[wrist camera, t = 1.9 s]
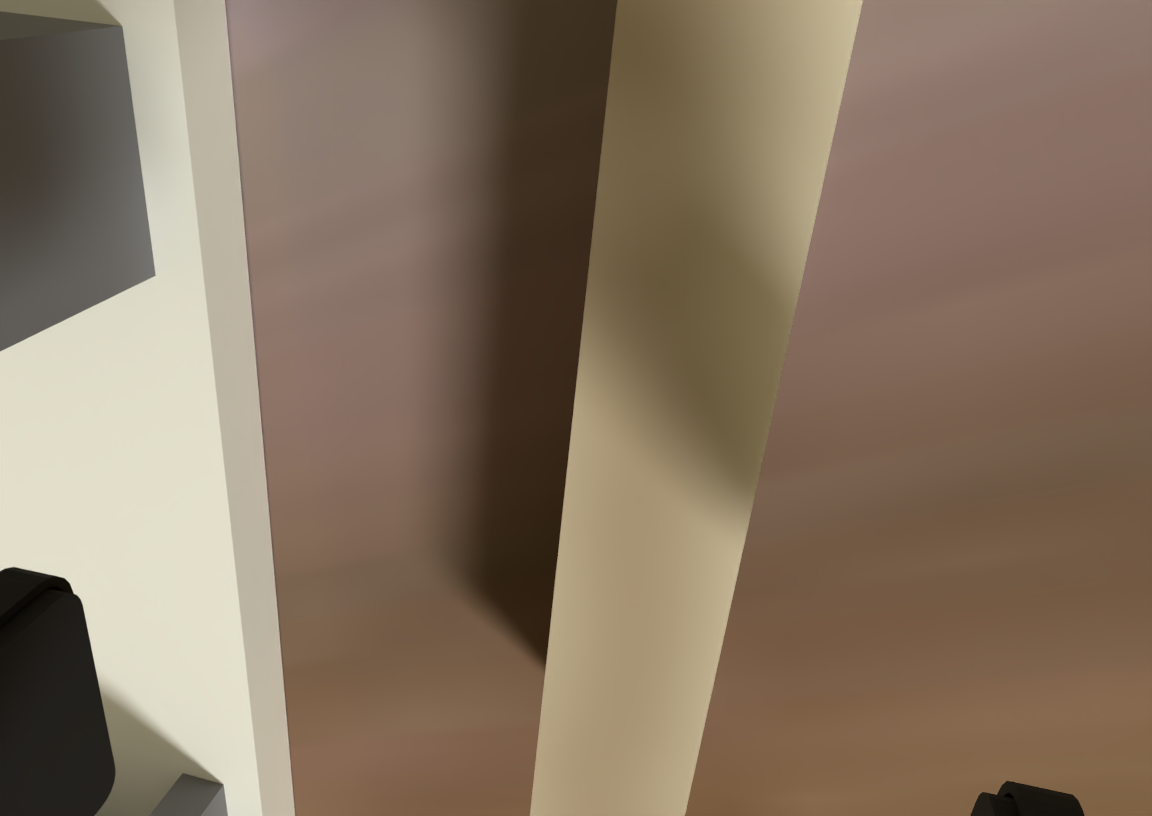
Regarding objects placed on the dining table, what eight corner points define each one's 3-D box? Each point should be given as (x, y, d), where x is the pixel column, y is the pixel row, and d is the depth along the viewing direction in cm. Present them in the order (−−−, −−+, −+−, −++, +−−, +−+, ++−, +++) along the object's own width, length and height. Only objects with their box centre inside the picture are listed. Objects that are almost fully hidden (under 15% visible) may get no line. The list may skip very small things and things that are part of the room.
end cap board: (219, -66, 17) (-102, -71, 11) (301, 893, 29) (168, 1129, 23) (-200, -107, 18) (-669, -129, 13) (44, 816, 30) (-140, 1018, 24)
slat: (881, -151, 14) (907, -206, 9) (694, 732, 22) (649, 976, 17) (713, -166, 14) (641, -226, 9) (591, 706, 23) (516, 935, 17)
